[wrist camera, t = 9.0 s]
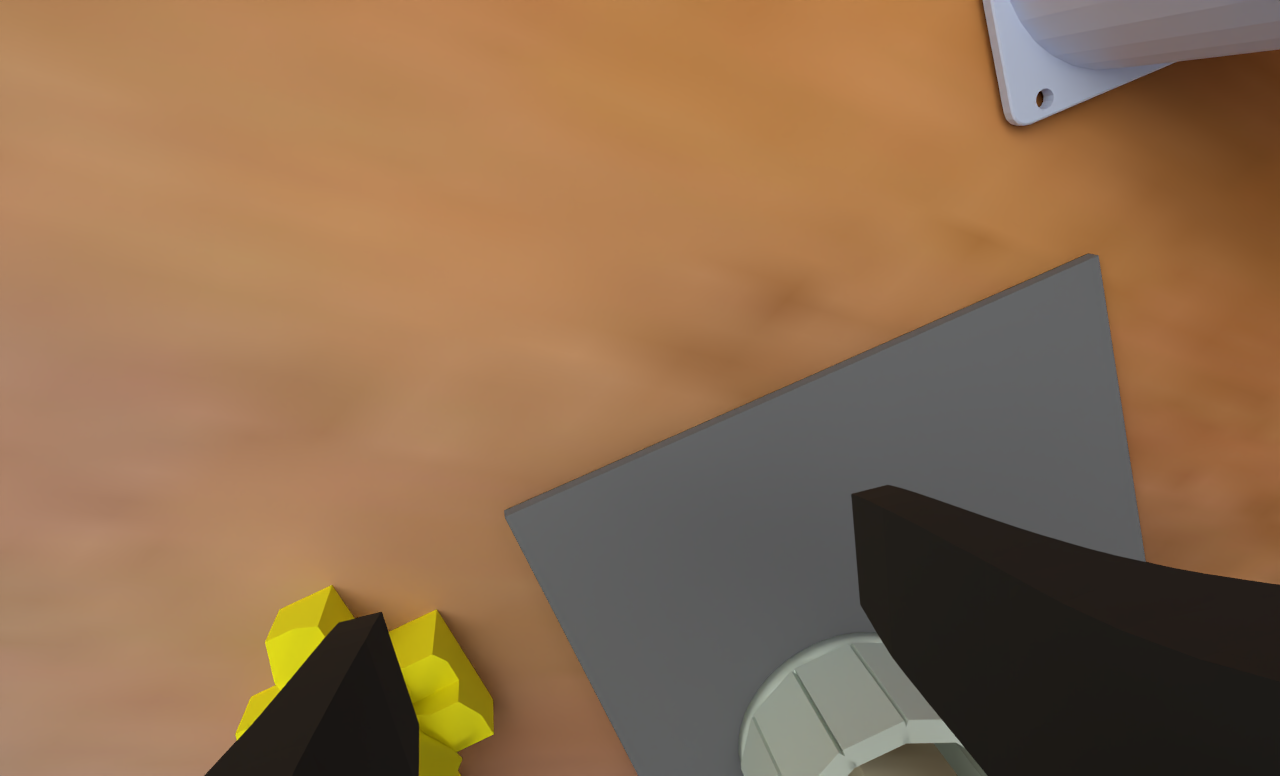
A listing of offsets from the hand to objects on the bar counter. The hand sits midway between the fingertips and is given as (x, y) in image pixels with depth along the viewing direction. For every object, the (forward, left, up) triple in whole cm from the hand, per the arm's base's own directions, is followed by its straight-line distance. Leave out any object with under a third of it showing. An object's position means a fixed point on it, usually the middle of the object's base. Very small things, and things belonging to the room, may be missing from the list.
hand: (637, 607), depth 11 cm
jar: (-4, +15, -10) cm, 18 cm away
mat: (-7, +11, -10) cm, 17 cm away
